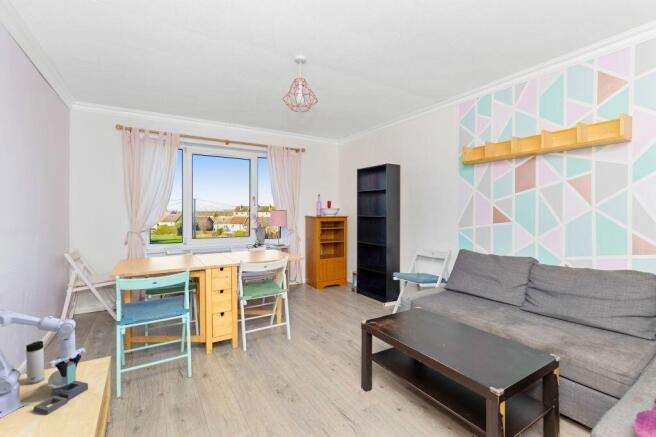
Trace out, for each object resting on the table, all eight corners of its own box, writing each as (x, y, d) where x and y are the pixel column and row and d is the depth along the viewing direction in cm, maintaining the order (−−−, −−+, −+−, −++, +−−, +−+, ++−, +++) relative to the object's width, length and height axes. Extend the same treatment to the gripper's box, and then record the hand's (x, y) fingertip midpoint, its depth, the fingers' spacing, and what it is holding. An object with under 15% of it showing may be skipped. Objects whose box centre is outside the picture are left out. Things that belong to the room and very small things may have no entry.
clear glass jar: (44, 380, 149) (43, 382, 141) (60, 365, 154) (60, 366, 146) (58, 389, 151) (58, 391, 143) (73, 374, 156) (74, 375, 148)
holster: (47, 414, 131) (47, 410, 131) (34, 411, 133) (33, 406, 133) (67, 402, 139) (67, 398, 138) (54, 399, 140) (54, 395, 140)
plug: (67, 384, 142) (67, 365, 141) (61, 382, 143) (61, 364, 142) (75, 379, 145) (75, 361, 145) (70, 378, 146) (69, 360, 146)
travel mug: (34, 385, 150) (33, 346, 149) (23, 383, 152) (22, 344, 150) (48, 378, 156) (47, 340, 155) (38, 376, 158) (36, 339, 156)
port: (68, 400, 140) (68, 394, 140) (51, 396, 142) (51, 390, 142) (87, 389, 148) (87, 382, 148) (72, 385, 151) (72, 379, 151)
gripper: (56, 354, 135) (57, 384, 136) (89, 340, 149) (90, 367, 150) (45, 352, 137) (46, 381, 138) (78, 338, 151) (79, 364, 152)
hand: (68, 373), depth 144 cm, fingers closed on plug, 4 cm apart
